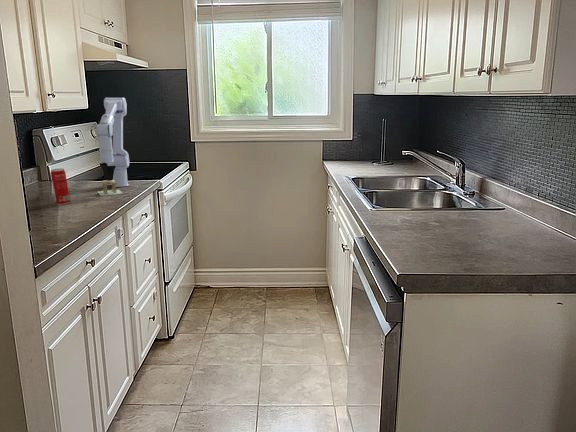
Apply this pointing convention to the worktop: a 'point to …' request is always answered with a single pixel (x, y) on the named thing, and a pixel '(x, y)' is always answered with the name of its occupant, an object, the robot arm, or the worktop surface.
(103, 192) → the mat
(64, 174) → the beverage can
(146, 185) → the worktop surface
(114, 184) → the stool
